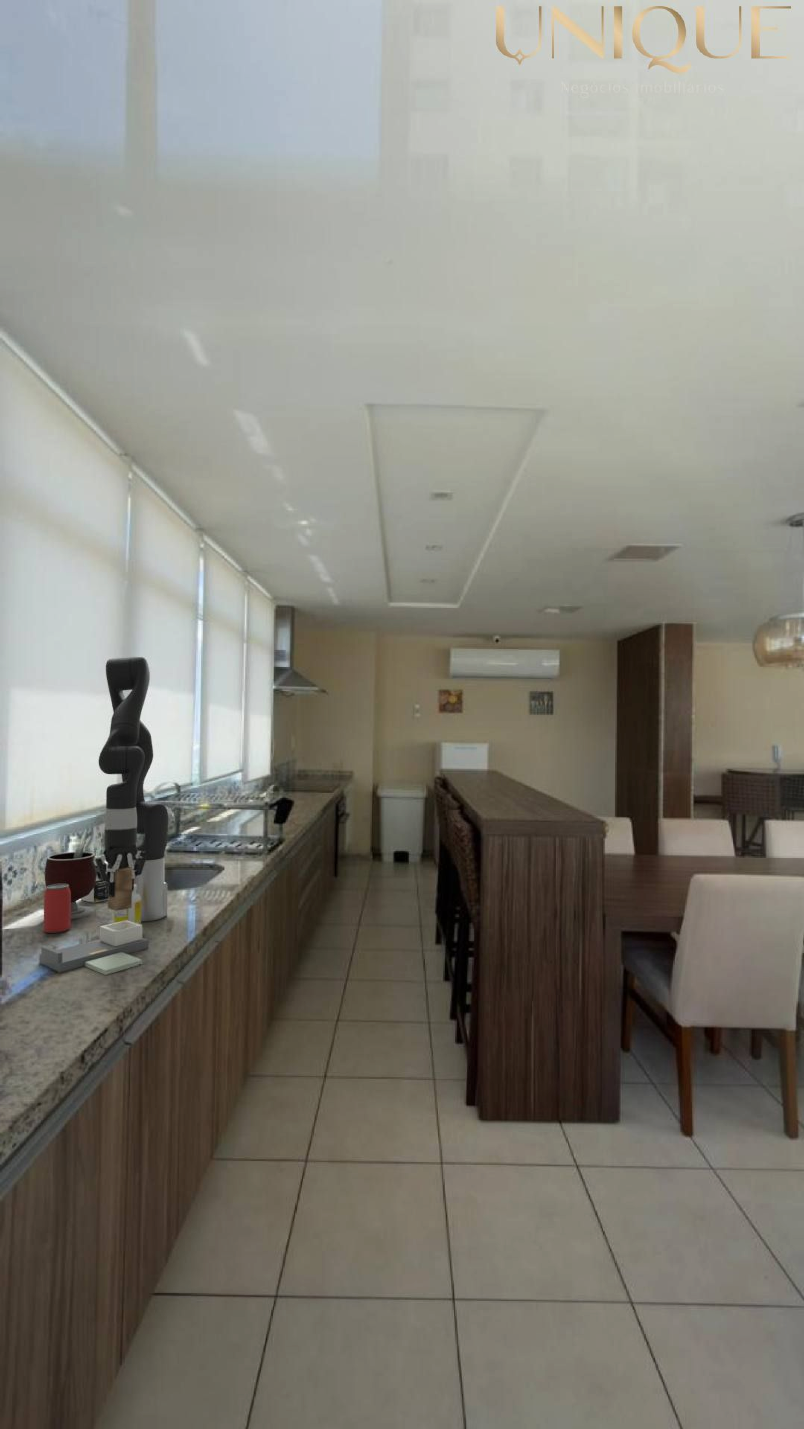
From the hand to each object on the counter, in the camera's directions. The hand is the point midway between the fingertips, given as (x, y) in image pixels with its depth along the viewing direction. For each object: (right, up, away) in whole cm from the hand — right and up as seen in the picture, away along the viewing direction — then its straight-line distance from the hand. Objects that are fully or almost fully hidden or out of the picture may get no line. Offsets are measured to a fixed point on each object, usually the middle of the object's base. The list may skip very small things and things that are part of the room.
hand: (119, 894), depth 173 cm
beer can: (-23, -14, +15) cm, 31 cm away
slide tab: (0, -11, 0) cm, 11 cm away
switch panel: (-4, -13, -5) cm, 15 cm away
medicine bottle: (-27, -14, +49) cm, 58 cm away
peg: (0, -3, 0) cm, 3 cm away
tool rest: (+4, -13, -12) cm, 18 cm away
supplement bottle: (-3, -14, +12) cm, 19 cm away
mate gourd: (-27, -14, +33) cm, 45 cm away
